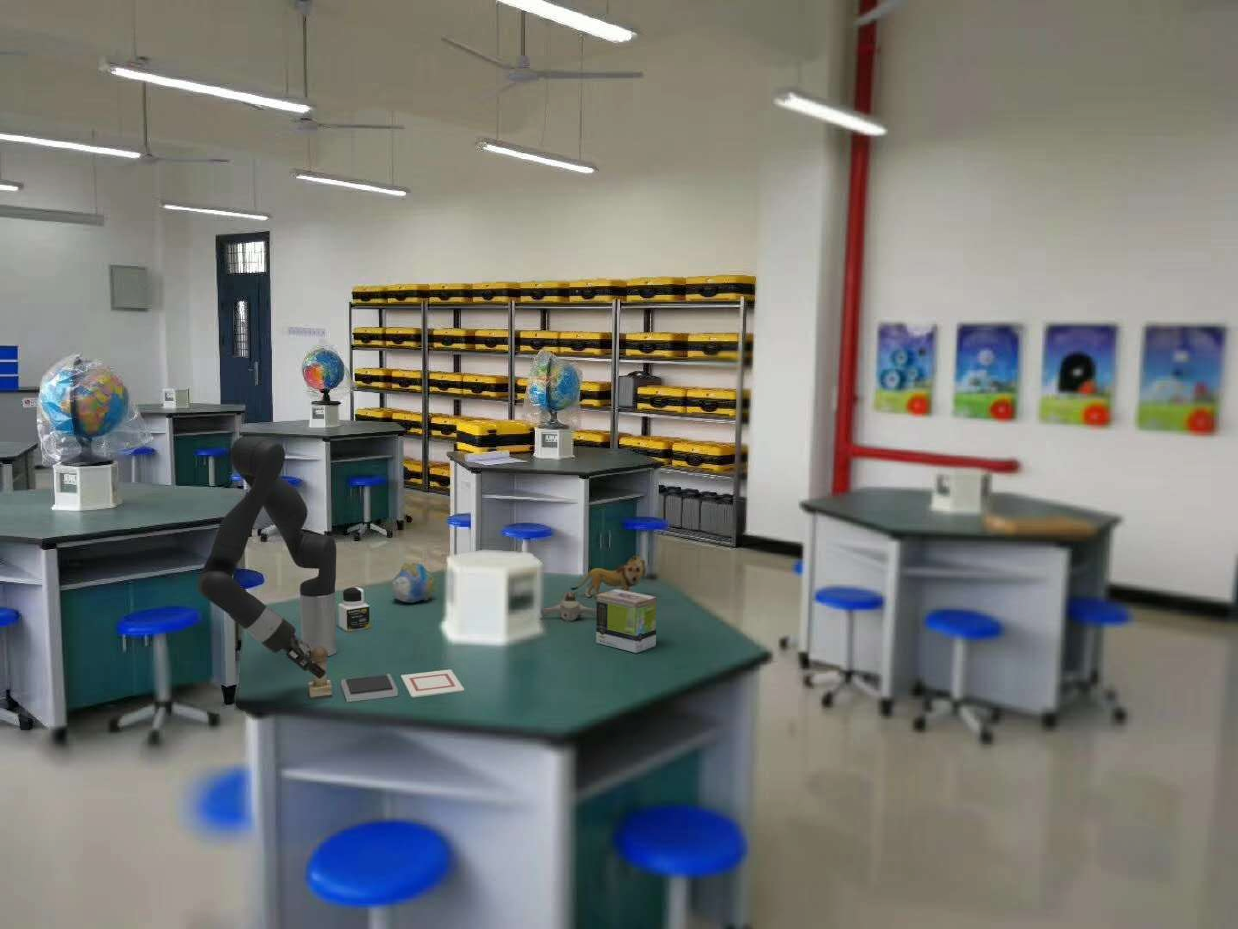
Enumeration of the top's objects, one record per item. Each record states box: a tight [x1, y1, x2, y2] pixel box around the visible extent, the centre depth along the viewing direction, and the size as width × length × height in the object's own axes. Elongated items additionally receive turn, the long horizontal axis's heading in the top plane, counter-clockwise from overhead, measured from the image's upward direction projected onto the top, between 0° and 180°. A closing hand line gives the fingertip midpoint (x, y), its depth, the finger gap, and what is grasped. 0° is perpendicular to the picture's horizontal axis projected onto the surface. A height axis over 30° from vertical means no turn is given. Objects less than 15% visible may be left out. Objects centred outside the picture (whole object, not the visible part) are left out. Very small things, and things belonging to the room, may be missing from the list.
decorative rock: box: [391, 562, 436, 604], centre depth 322 cm, size 13×15×14 cm
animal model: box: [570, 555, 647, 599], centre depth 328 cm, size 9×26×15 cm, turn 78°
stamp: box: [308, 647, 333, 700], centre depth 235 cm, size 5×5×12 cm
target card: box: [400, 669, 465, 699], centre depth 244 cm, size 16×13×1 cm
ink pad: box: [341, 673, 399, 703], centre depth 238 cm, size 12×12×2 cm
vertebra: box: [540, 589, 596, 622], centre depth 304 cm, size 20×11×10 cm, turn 92°
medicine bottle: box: [338, 586, 371, 633], centre depth 291 cm, size 7×7×12 cm
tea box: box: [595, 588, 657, 654], centre depth 277 cm, size 15×10×15 cm, turn 51°
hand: (321, 670), depth 235 cm, fingers open, 8 cm apart
